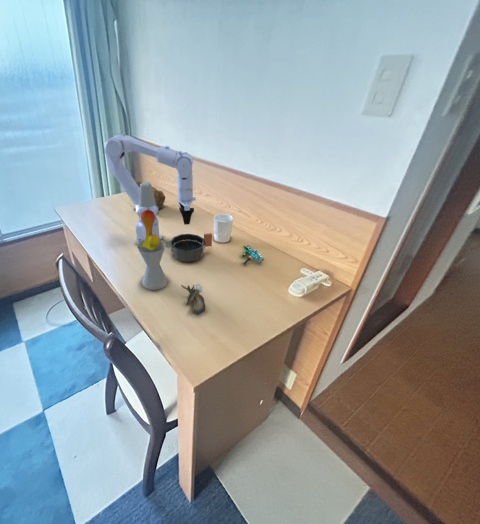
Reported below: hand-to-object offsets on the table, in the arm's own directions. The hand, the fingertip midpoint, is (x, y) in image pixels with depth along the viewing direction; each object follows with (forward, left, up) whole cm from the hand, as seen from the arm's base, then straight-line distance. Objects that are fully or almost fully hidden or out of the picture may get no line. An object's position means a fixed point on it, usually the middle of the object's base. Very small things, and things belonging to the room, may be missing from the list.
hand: (185, 220), depth 115 cm
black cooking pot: (+4, -10, -9) cm, 14 cm away
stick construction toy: (+26, -10, -11) cm, 30 cm away
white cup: (+15, +5, -11) cm, 19 cm away
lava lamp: (-6, -29, -11) cm, 31 cm away
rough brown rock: (-25, +33, -11) cm, 43 cm away
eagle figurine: (+9, -38, -11) cm, 40 cm away
